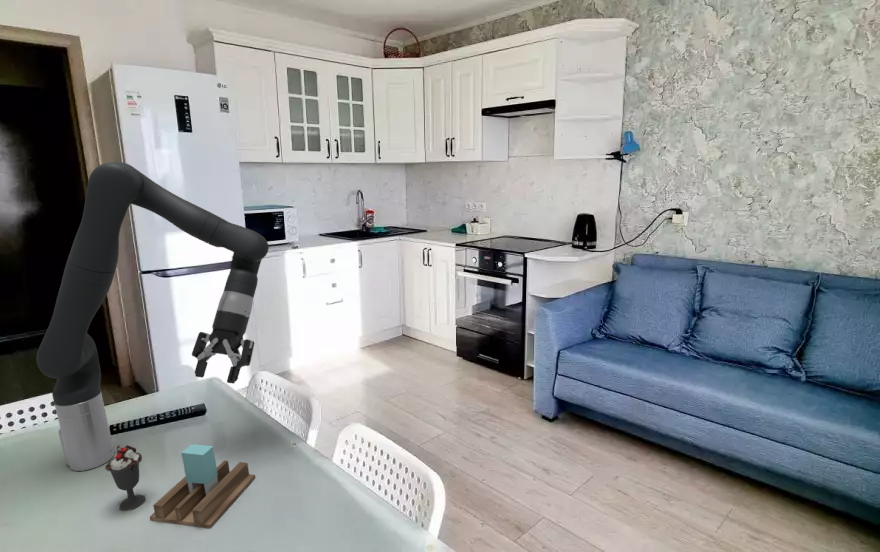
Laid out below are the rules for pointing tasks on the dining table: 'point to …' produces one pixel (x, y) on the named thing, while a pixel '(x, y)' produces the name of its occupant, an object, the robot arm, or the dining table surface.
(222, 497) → the rail
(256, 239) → the robot arm
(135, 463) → the sundae
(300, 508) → the dining table surface
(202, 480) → the aqua box with feet
